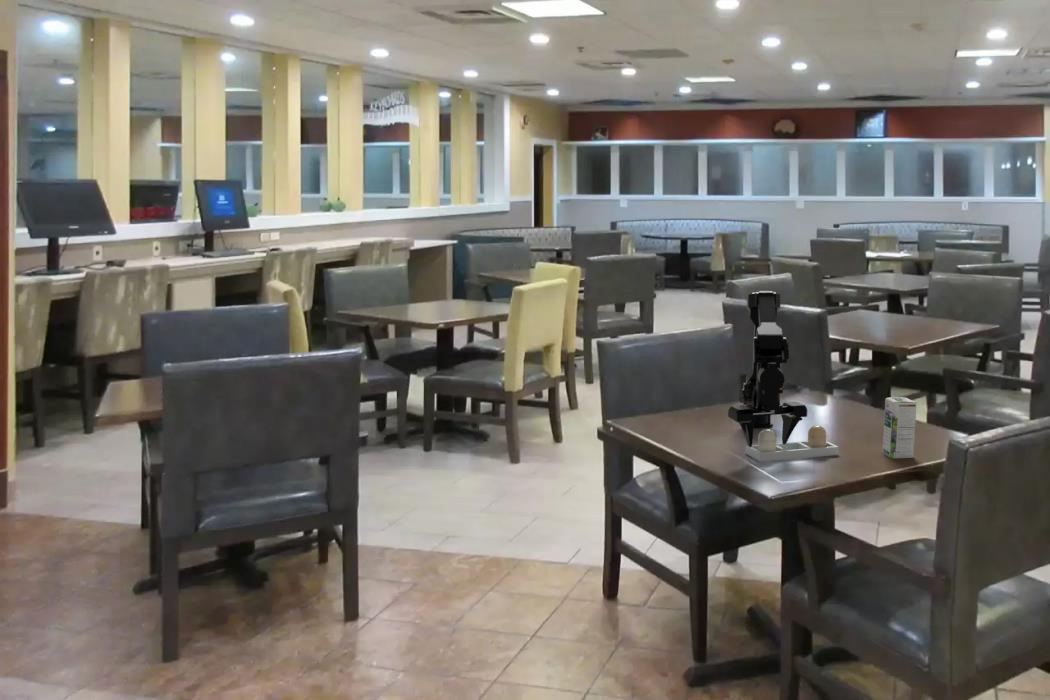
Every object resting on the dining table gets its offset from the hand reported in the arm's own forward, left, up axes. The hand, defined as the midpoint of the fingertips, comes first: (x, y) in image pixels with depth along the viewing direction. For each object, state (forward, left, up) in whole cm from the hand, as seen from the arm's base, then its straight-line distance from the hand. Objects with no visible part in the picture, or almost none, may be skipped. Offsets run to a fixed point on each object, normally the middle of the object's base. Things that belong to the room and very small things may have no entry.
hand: (766, 445), depth 256 cm
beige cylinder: (-14, 0, -3) cm, 14 cm away
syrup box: (-31, +8, -3) cm, 33 cm away
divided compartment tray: (-7, 0, -3) cm, 8 cm away
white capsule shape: (0, 0, -3) cm, 3 cm away
